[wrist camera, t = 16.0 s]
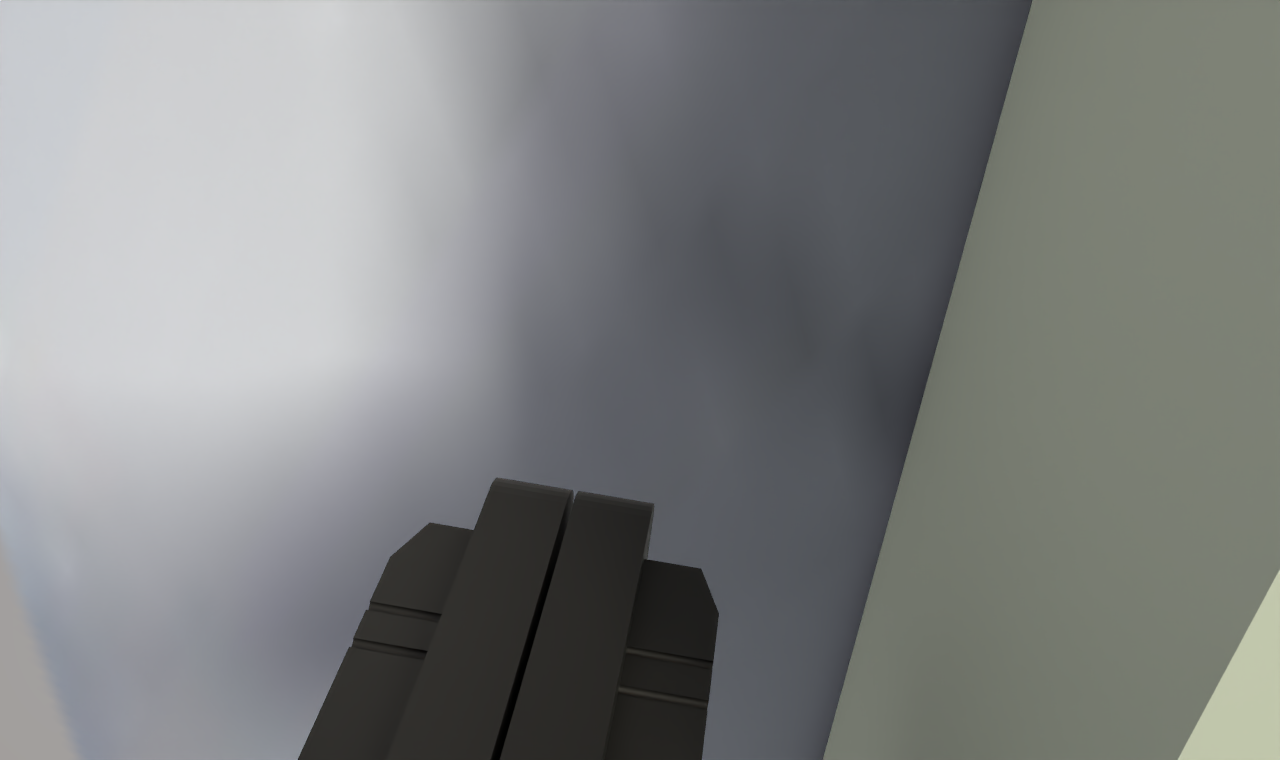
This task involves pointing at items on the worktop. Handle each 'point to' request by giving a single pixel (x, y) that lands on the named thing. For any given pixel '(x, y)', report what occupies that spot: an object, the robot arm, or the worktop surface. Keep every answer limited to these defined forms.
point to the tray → (1098, 417)
